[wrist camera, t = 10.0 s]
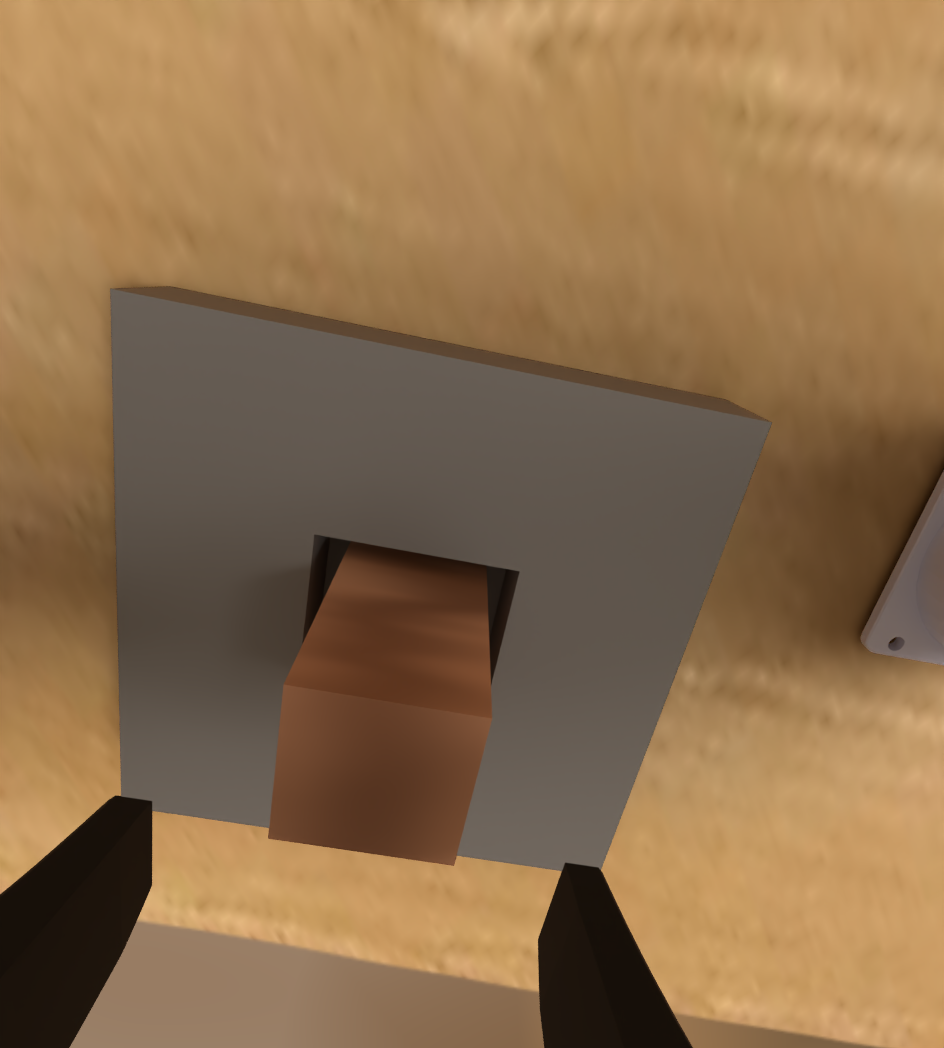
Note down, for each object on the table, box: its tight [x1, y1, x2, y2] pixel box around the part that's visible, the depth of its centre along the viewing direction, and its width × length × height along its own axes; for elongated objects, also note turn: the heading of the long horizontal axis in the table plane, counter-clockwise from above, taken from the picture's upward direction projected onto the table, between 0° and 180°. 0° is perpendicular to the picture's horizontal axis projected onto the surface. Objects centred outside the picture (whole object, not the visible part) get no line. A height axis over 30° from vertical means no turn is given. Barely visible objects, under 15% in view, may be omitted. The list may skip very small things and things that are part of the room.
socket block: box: [110, 287, 772, 871], centre depth 19 cm, size 16×16×3 cm
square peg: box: [268, 541, 492, 866], centre depth 16 cm, size 4×4×8 cm
